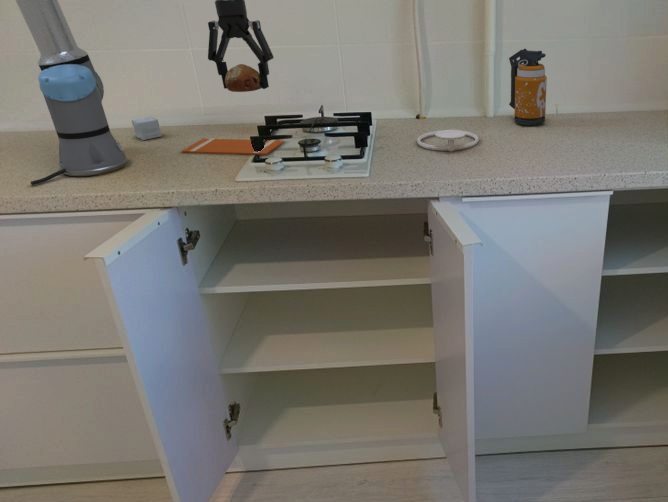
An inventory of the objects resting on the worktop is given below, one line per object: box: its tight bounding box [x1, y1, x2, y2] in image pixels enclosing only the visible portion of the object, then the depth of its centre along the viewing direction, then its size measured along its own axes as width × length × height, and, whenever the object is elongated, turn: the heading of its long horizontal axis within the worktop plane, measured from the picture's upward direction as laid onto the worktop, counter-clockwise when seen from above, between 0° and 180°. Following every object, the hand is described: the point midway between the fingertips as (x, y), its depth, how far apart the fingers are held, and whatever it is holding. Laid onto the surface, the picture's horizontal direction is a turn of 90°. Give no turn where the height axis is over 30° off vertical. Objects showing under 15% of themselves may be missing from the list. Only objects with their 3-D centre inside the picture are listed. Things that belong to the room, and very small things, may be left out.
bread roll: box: [225, 63, 262, 93], centre depth 185 cm, size 10×10×8 cm
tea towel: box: [181, 137, 285, 156], centre depth 182 cm, size 12×24×1 cm, turn 81°
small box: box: [131, 116, 163, 141], centre depth 192 cm, size 6×6×5 cm
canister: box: [508, 48, 548, 127], centre depth 192 cm, size 9×11×20 cm
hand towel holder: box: [416, 129, 480, 153], centre depth 179 cm, size 17×4×21 cm
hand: (246, 87), depth 186 cm, fingers closed on bread roll, 11 cm apart
